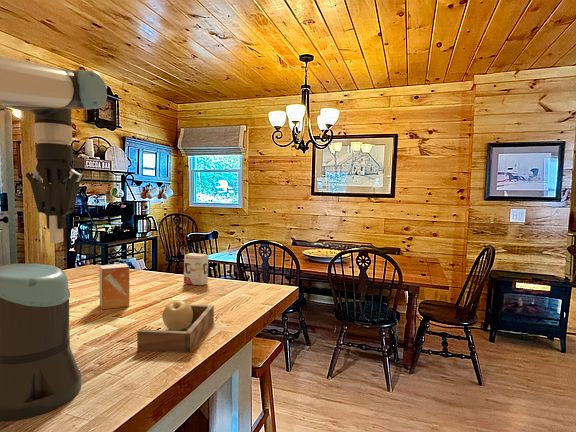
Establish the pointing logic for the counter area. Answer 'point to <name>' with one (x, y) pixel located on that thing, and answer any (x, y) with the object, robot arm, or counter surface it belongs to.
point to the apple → (177, 315)
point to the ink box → (196, 269)
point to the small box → (114, 285)
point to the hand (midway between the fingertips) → (56, 242)
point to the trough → (178, 333)
